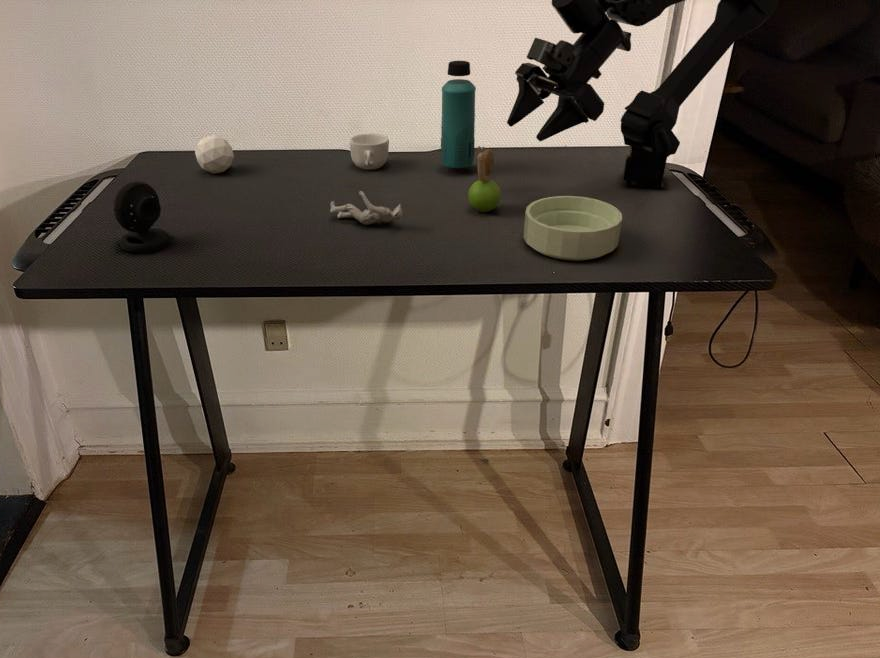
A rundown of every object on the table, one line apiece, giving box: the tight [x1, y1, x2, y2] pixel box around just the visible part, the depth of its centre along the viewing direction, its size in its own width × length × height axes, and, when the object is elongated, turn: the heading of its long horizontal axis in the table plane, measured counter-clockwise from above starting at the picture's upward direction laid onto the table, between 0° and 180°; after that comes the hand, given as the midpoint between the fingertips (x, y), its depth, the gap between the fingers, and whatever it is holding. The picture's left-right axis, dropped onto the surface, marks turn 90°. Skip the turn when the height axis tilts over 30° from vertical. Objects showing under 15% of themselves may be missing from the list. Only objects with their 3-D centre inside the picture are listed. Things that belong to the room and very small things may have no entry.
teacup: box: [349, 132, 390, 171], centre depth 142 cm, size 10×8×5 cm
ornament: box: [194, 132, 235, 175], centre depth 141 cm, size 7×7×8 cm
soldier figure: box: [330, 190, 403, 226], centre depth 119 cm, size 8×5×12 cm
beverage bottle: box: [440, 60, 477, 169], centre depth 136 cm, size 6×7×20 cm
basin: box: [523, 195, 623, 261], centre depth 111 cm, size 14×14×5 cm
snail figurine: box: [467, 145, 502, 213], centre depth 120 cm, size 5×6×12 cm
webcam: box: [113, 180, 170, 254], centre depth 111 cm, size 8×8×10 cm
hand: (522, 131), depth 118 cm, fingers open, 9 cm apart
